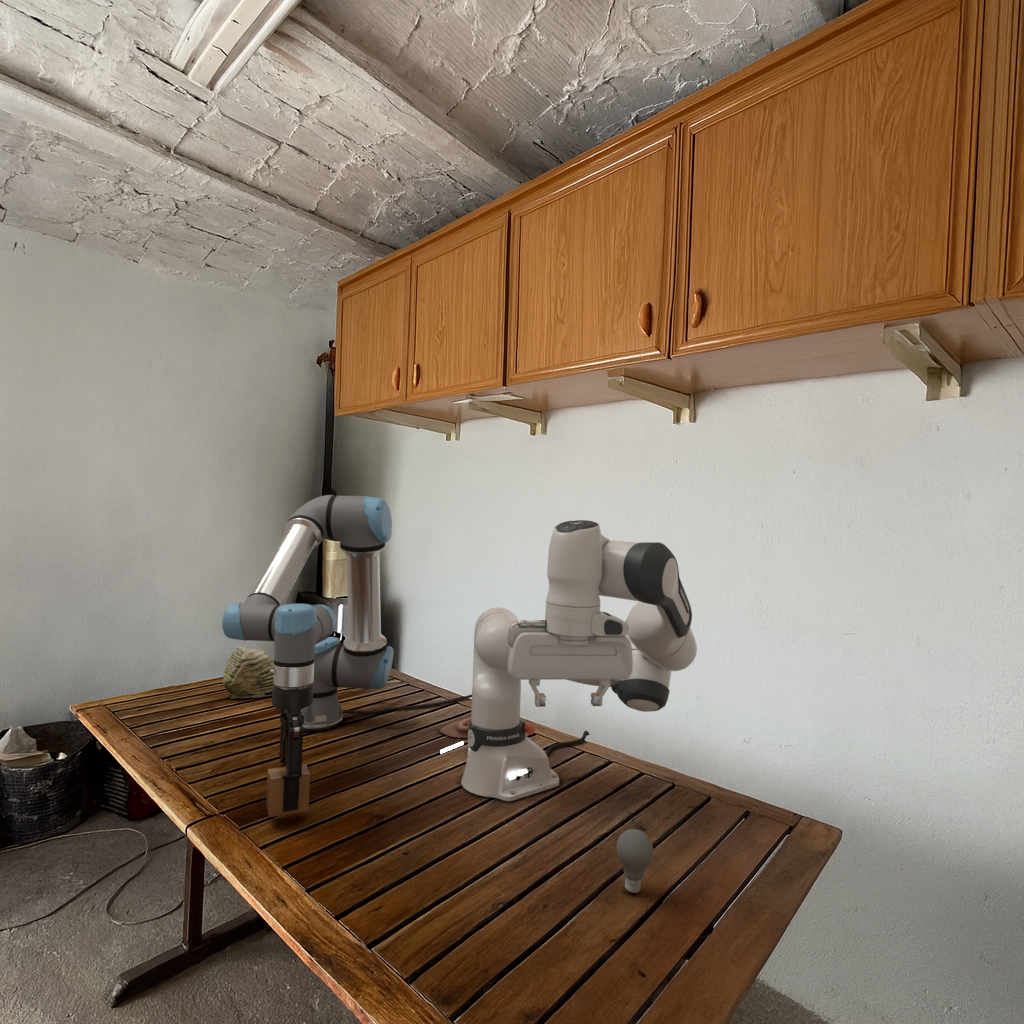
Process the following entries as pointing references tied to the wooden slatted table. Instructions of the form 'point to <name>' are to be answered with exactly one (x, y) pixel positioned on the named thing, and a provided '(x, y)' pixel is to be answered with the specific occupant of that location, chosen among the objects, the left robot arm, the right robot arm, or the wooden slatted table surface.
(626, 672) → the right robot arm
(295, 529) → the left robot arm
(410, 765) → the wooden slatted table surface
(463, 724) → the anatomical model
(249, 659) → the fossil
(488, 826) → the wooden slatted table surface
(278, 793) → the tan brown block
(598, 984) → the wooden slatted table surface
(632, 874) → the light bulb
